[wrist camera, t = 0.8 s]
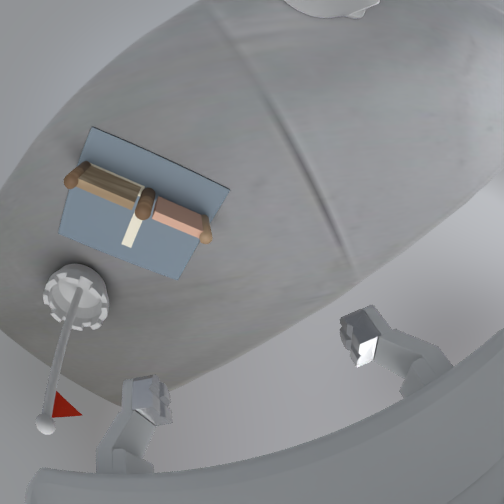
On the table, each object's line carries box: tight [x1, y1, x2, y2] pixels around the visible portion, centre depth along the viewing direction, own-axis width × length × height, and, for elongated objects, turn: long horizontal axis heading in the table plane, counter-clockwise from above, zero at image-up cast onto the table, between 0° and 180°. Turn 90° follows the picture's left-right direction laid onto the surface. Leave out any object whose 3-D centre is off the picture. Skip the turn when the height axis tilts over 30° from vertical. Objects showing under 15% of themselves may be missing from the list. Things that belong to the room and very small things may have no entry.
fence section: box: [152, 196, 212, 244], centre depth 40 cm, size 2×9×6 cm, turn 57°
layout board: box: [58, 127, 230, 280], centre depth 41 cm, size 19×24×1 cm
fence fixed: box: [64, 161, 155, 220], centre depth 35 cm, size 2×13×7 cm, turn 57°
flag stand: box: [36, 264, 109, 435], centre depth 34 cm, size 13×13×30 cm
